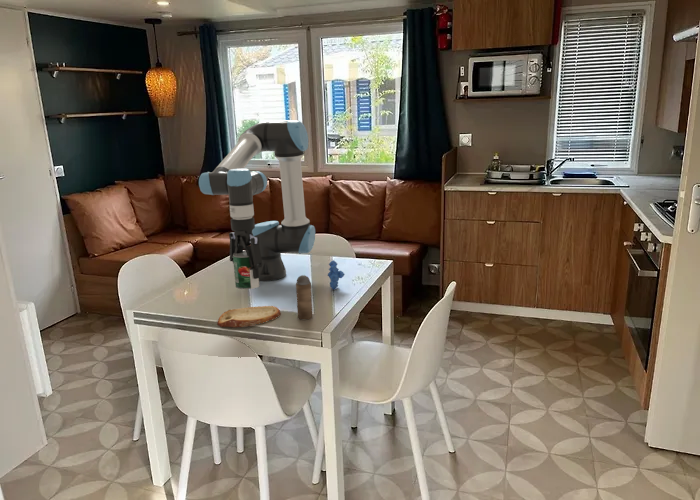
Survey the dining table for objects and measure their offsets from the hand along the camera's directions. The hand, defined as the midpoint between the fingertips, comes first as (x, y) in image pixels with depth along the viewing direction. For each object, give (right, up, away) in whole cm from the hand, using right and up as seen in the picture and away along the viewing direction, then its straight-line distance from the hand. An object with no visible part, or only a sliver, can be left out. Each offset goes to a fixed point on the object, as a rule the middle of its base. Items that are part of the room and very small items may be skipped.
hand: (247, 285), depth 185 cm
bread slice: (0, -12, +5) cm, 13 cm away
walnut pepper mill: (+19, -11, +4) cm, 22 cm away
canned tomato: (0, 0, 0) cm, 0 cm away
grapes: (+29, -4, +33) cm, 44 cm away
